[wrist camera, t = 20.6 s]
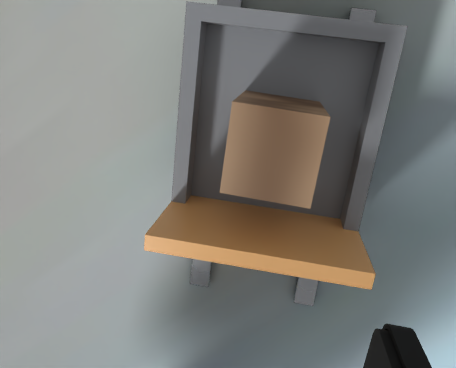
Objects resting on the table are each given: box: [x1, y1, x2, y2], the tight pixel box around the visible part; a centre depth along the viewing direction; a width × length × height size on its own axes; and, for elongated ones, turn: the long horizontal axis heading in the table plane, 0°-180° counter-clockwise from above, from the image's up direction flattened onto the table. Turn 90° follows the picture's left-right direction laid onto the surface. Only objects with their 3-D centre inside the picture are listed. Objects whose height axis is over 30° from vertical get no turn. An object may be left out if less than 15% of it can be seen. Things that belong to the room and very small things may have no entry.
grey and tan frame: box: [144, 1, 408, 290], centre depth 25 cm, size 14×13×9 cm
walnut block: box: [220, 90, 330, 209], centre depth 24 cm, size 5×5×7 cm
